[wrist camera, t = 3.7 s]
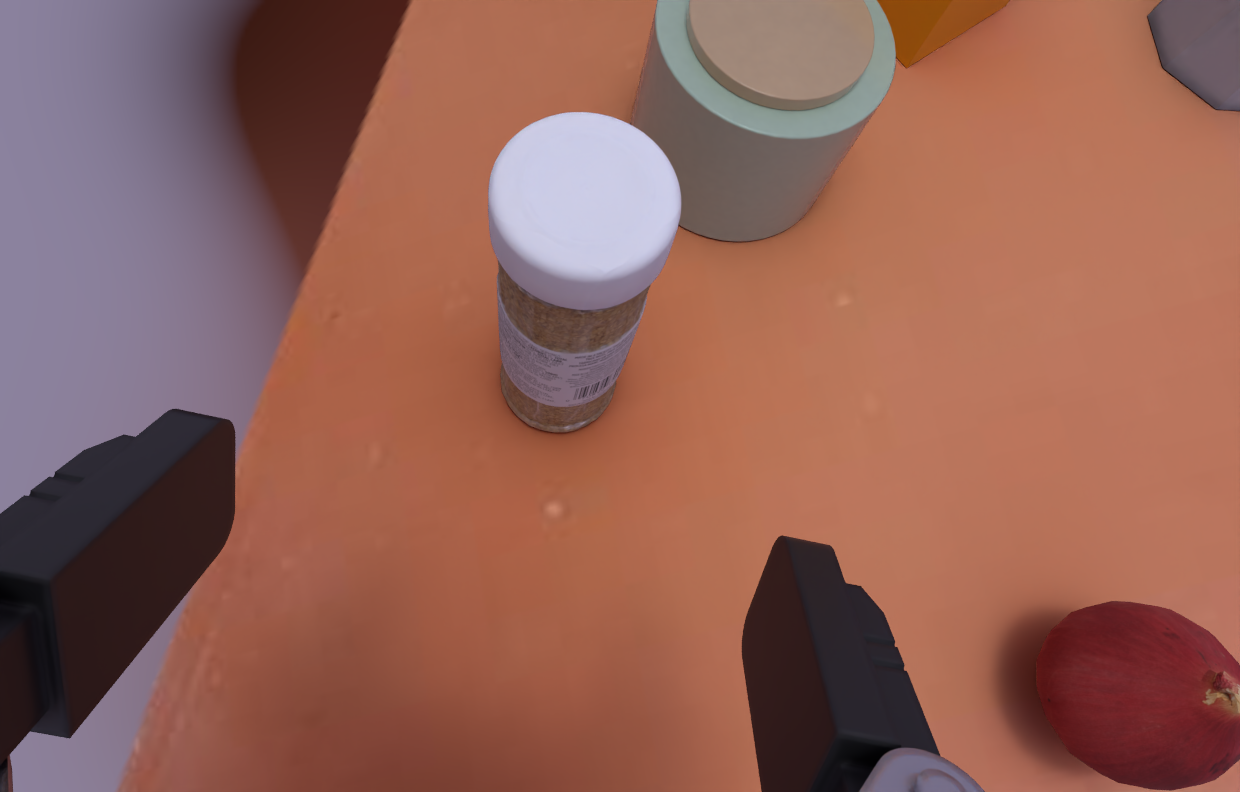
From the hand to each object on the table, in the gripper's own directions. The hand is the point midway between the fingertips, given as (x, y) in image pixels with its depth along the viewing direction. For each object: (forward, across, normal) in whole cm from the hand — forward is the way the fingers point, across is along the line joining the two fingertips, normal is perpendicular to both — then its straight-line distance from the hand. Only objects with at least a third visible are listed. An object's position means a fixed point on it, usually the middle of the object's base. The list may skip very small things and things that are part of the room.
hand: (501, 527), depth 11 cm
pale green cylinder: (+27, -5, -3) cm, 28 cm away
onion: (+13, -21, +12) cm, 27 cm away
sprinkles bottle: (+18, 0, +6) cm, 19 cm away
